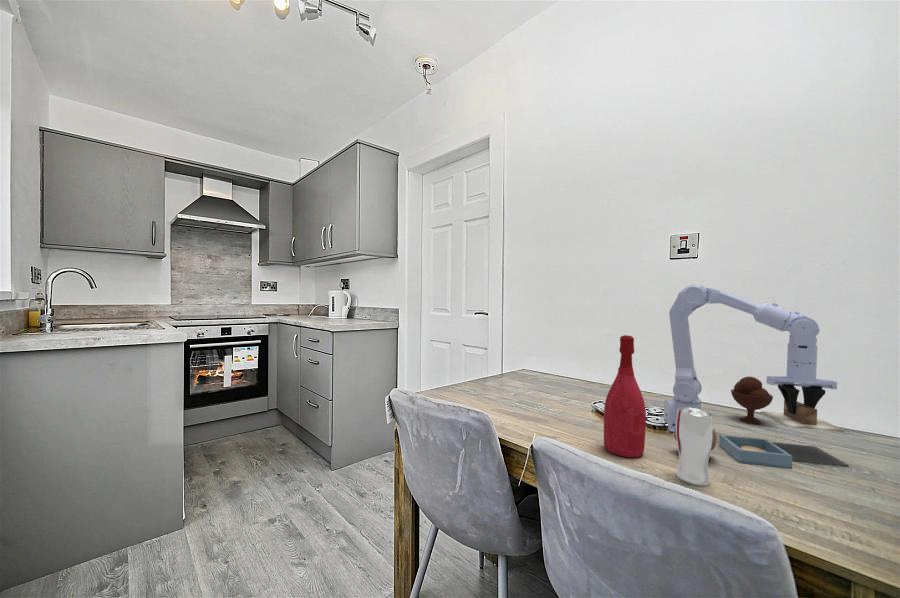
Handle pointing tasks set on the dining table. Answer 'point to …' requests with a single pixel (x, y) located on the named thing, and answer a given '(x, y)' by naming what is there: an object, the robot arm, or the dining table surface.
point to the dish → (755, 451)
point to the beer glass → (694, 444)
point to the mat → (809, 454)
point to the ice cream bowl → (751, 397)
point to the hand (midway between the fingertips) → (799, 413)
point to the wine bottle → (625, 408)
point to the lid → (801, 418)
